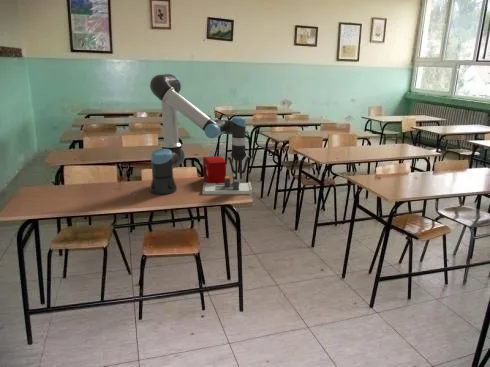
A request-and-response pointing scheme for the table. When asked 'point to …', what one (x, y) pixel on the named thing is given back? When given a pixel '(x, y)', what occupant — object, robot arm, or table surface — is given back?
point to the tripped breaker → (227, 181)
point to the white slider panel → (227, 188)
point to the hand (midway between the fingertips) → (238, 184)
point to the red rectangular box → (214, 169)
